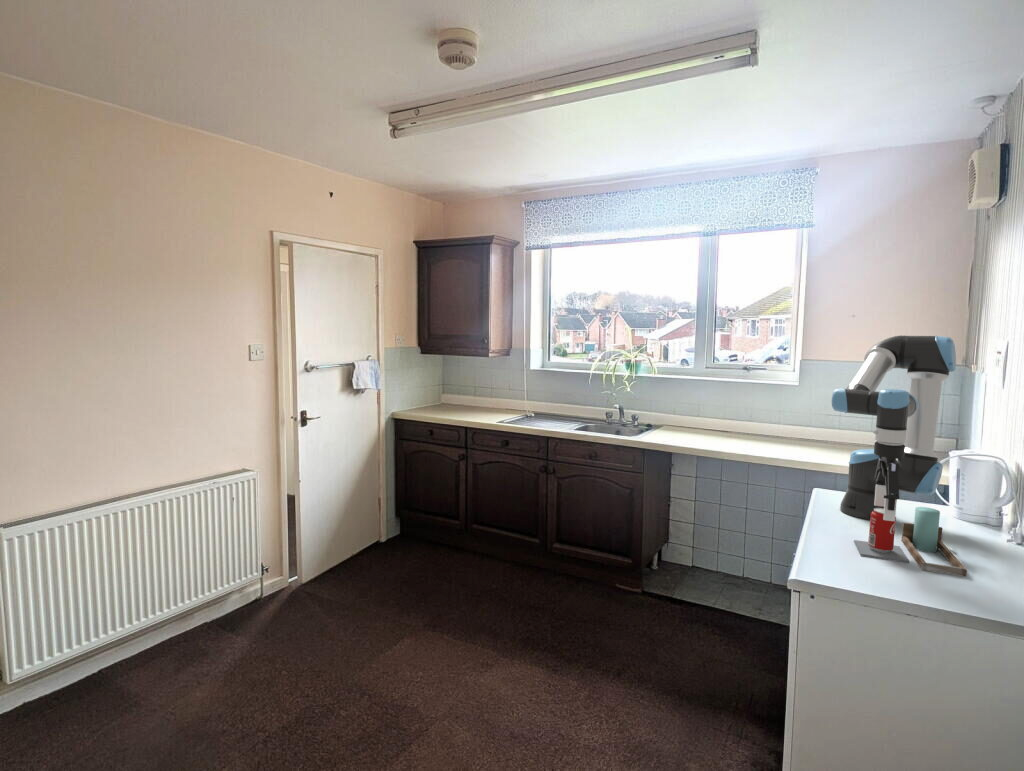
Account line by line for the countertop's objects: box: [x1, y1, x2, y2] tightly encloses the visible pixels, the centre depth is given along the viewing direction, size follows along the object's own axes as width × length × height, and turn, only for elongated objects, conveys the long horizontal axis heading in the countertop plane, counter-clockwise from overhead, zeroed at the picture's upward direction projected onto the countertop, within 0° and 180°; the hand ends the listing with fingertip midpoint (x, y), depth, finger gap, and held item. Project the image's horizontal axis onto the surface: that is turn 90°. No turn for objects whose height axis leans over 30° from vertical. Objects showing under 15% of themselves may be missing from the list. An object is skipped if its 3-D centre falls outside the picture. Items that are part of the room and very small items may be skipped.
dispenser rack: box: [901, 522, 968, 577], centre depth 167 cm, size 24×10×6 cm, turn 157°
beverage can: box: [867, 508, 897, 553], centre depth 171 cm, size 6×6×12 cm
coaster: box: [853, 539, 910, 564], centre depth 171 cm, size 12×12×1 cm
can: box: [912, 506, 941, 553], centre depth 174 cm, size 6×6×12 cm
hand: (884, 512), depth 170 cm, fingers open, 13 cm apart
